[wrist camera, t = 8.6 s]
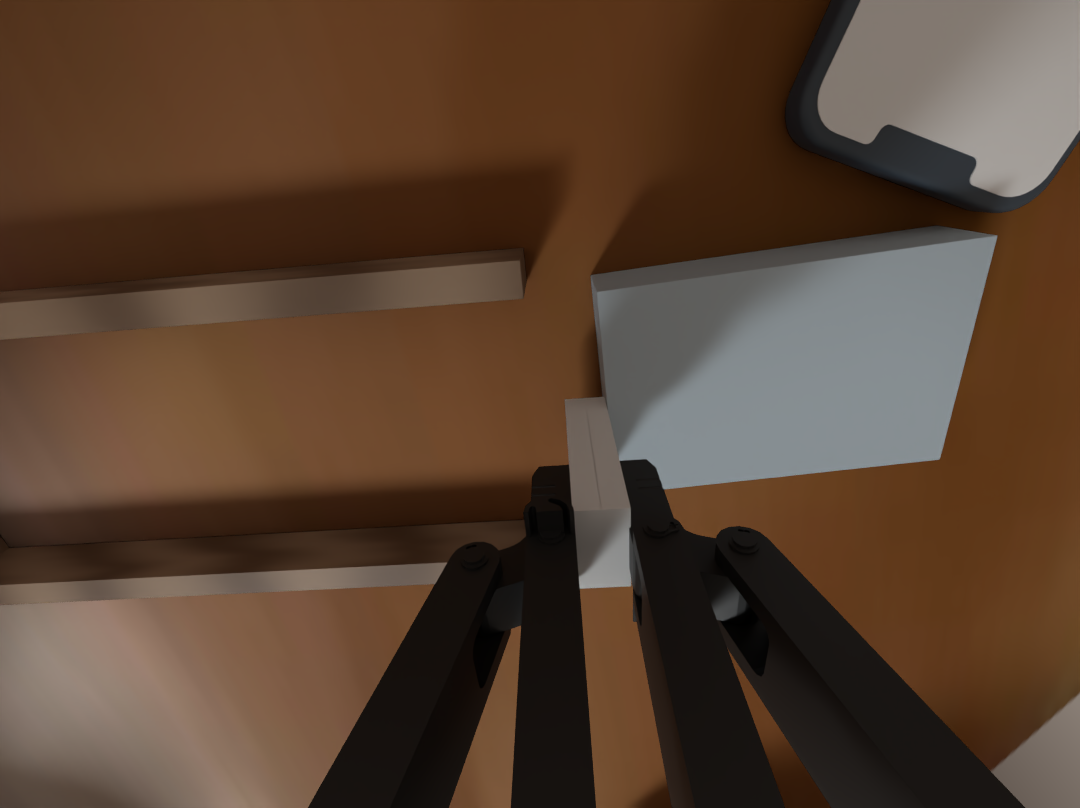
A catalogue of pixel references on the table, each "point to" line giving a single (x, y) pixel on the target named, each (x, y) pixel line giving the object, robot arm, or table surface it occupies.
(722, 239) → the table surface
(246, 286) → the box frame
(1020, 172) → the smartphone
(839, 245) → the cover plate
